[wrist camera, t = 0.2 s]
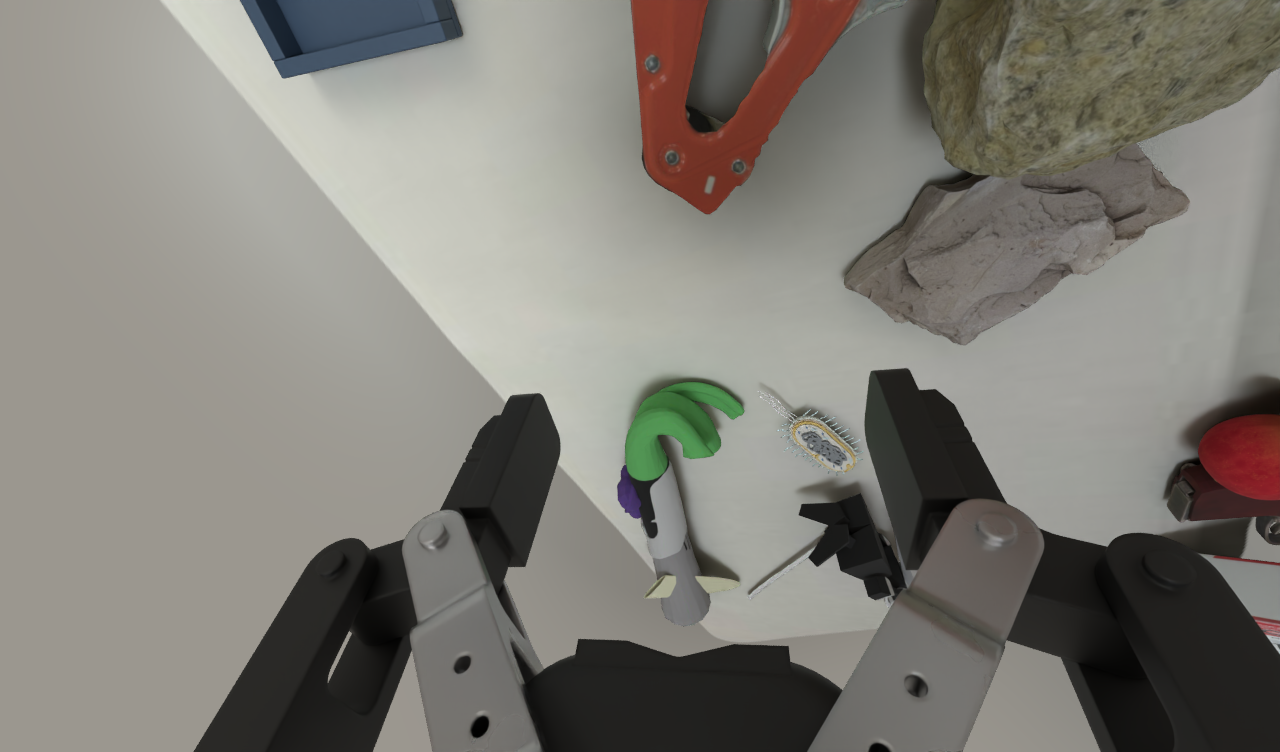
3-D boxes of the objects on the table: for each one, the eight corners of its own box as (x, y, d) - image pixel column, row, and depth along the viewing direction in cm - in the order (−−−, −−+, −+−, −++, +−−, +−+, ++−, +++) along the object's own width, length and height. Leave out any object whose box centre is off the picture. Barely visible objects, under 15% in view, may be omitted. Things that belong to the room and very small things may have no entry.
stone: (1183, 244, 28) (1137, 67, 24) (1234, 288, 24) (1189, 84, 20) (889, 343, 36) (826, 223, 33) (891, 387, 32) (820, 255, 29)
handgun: (1140, 607, 52) (1347, 591, 46) (1158, 636, 50) (1377, 622, 44) (1166, 461, 39) (1461, 412, 33) (1192, 492, 37) (1512, 446, 31)
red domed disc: (1398, 481, 32) (1256, 506, 37) (1302, 370, 34) (1180, 408, 40) (1392, 527, 28) (1232, 547, 33) (1283, 397, 30) (1149, 435, 35)
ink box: (1315, 635, 35) (1337, 680, 40) (1306, 564, 37) (1329, 616, 42) (1144, 603, 42) (1182, 645, 47) (1144, 545, 44) (1181, 592, 49)
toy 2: (673, 621, 46) (762, 668, 53) (887, 555, 37) (958, 623, 44) (672, 543, 51) (753, 595, 59) (858, 469, 42) (925, 542, 50)
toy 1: (663, 581, 58) (598, 377, 41) (762, 583, 56) (740, 367, 38) (657, 635, 54) (580, 431, 36) (765, 640, 51) (741, 424, 33)
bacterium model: (731, 417, 38) (783, 377, 36) (729, 402, 40) (779, 363, 37) (830, 492, 42) (882, 460, 40) (824, 476, 44) (875, 445, 42)
